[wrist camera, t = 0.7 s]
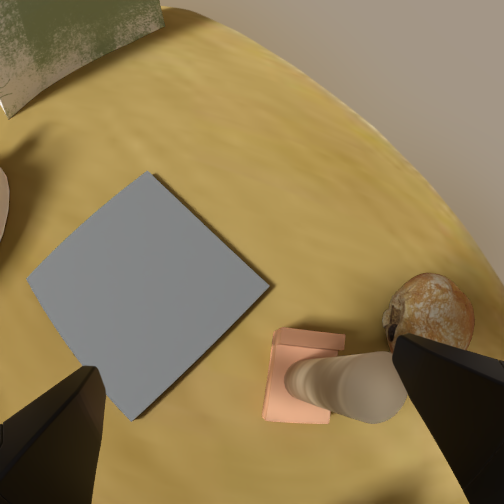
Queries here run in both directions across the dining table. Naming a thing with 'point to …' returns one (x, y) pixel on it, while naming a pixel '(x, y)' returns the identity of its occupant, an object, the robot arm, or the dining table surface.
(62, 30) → the grocery bag
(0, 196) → the kettle
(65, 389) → the robot arm
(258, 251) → the dining table surface
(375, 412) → the cylinder on pink base
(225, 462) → the dining table surface
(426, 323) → the bread roll
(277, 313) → the dining table surface
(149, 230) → the mat
